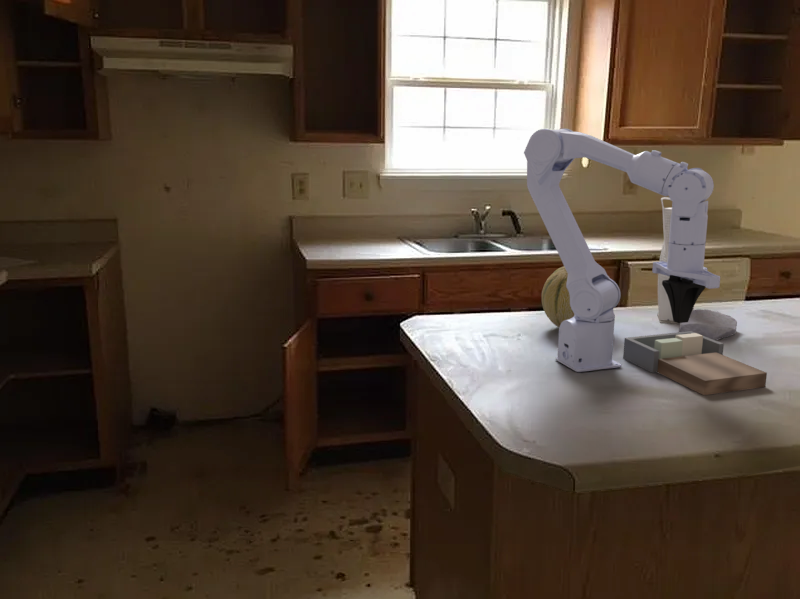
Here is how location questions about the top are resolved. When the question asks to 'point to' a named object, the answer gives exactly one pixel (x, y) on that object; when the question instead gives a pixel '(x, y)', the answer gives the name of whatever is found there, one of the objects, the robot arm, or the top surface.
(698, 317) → the stone block
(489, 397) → the top surface
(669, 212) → the skyscraper
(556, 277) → the cantaloupe
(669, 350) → the sage tile
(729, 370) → the walnut board
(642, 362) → the box
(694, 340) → the cream tile
